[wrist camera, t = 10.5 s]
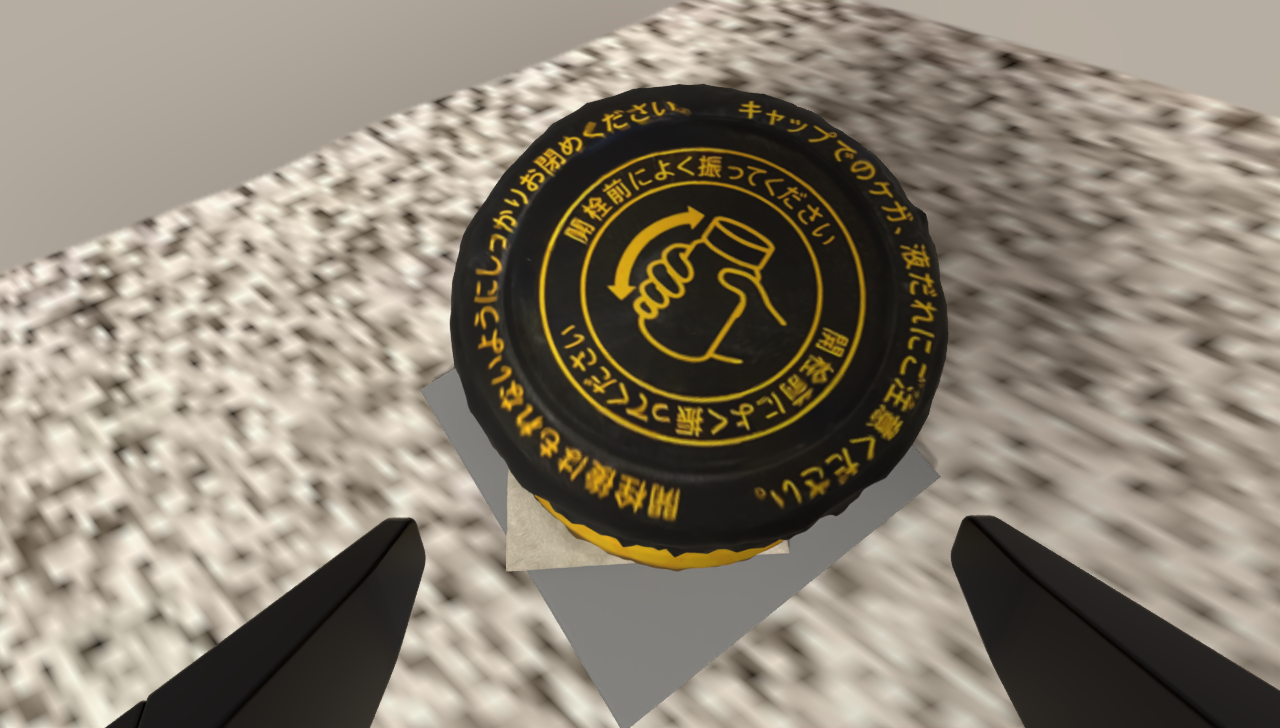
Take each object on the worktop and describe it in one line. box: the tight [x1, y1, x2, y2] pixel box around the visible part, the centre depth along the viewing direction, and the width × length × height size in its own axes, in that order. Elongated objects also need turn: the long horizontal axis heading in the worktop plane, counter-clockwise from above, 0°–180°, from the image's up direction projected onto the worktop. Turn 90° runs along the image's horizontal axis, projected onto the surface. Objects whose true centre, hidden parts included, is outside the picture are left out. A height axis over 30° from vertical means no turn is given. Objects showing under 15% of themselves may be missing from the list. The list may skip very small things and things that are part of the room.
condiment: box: [450, 84, 948, 572], centre depth 11 cm, size 7×8×12 cm
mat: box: [420, 368, 940, 728], centre depth 17 cm, size 12×12×1 cm
